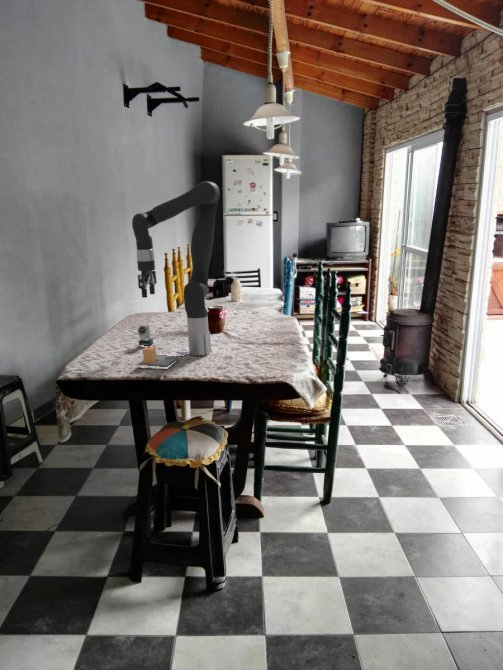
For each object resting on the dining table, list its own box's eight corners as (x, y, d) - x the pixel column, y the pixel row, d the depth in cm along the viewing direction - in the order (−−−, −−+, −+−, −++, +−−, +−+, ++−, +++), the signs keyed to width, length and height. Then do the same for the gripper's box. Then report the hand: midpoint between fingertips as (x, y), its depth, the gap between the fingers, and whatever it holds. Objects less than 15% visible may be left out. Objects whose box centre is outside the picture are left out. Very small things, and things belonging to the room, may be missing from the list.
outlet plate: (178, 360, 224) (178, 355, 224) (167, 369, 212) (166, 364, 212) (151, 359, 228) (150, 354, 227) (138, 368, 215) (137, 363, 215)
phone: (162, 353, 239) (162, 350, 238) (188, 354, 235) (188, 351, 235) (156, 356, 233) (156, 354, 233) (183, 358, 230) (182, 355, 229)
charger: (156, 364, 219) (155, 346, 217) (152, 367, 216) (151, 348, 214) (148, 364, 220) (146, 345, 218) (144, 367, 217) (142, 348, 215)
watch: (137, 348, 245) (135, 326, 242) (143, 344, 253) (142, 322, 250) (148, 348, 244) (146, 326, 241) (154, 344, 252) (152, 322, 249)
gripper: (147, 261, 220) (150, 298, 224) (159, 257, 233) (162, 293, 237) (130, 261, 221) (134, 298, 225) (144, 257, 235) (147, 293, 239)
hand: (148, 295), depth 231 cm, fingers open, 8 cm apart
